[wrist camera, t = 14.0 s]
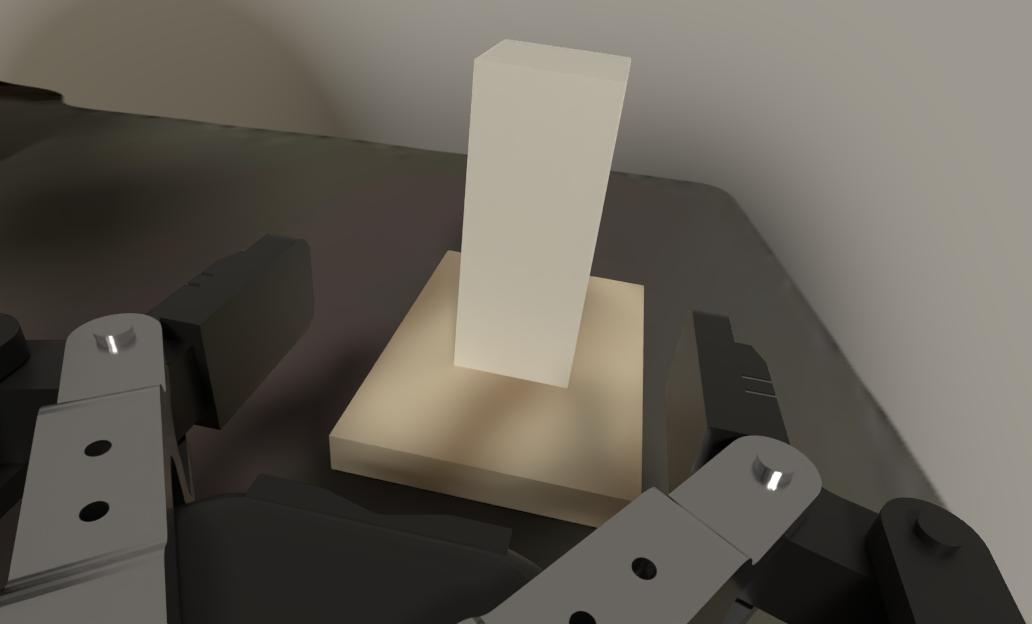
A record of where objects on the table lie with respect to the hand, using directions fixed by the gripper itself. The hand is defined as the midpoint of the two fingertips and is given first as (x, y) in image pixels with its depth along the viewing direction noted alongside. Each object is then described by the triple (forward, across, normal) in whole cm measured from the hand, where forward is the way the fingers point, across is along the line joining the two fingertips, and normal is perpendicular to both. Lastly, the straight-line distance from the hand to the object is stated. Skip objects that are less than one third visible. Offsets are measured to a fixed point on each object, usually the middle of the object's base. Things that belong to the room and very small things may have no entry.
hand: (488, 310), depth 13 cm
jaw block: (+10, 0, +8) cm, 12 cm away
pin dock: (+10, 0, +9) cm, 13 cm away
